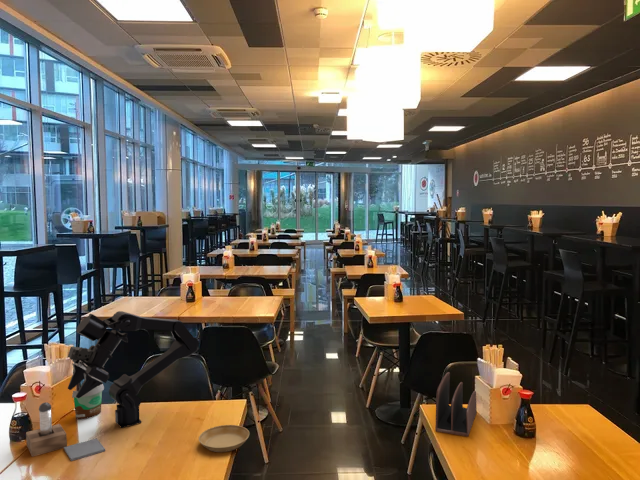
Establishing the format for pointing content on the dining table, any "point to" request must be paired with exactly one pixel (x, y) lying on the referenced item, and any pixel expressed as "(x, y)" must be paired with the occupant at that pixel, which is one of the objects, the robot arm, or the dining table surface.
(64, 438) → the block
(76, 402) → the food container
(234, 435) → the plant saucer
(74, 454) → the slate pad
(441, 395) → the letter holder
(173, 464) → the dining table surface
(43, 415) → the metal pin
